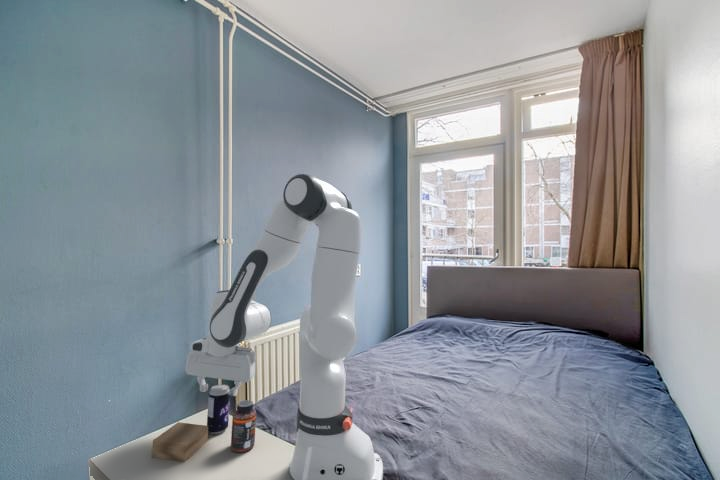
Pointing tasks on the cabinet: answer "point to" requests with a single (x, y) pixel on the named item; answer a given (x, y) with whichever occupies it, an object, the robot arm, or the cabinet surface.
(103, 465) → the cabinet surface
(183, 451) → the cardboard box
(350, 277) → the robot arm
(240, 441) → the supplement bottle
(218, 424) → the beverage can
